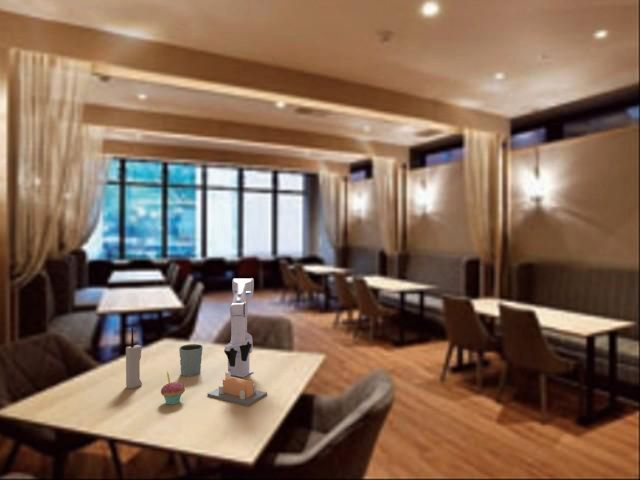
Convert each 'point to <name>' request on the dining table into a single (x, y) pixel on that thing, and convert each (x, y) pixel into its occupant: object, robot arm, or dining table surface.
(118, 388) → the dining table surface
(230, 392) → the long tan brick
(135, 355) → the vintage mobile phone
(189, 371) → the drinking glass
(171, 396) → the cupcake
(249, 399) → the grey pegged plate
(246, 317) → the robot arm
